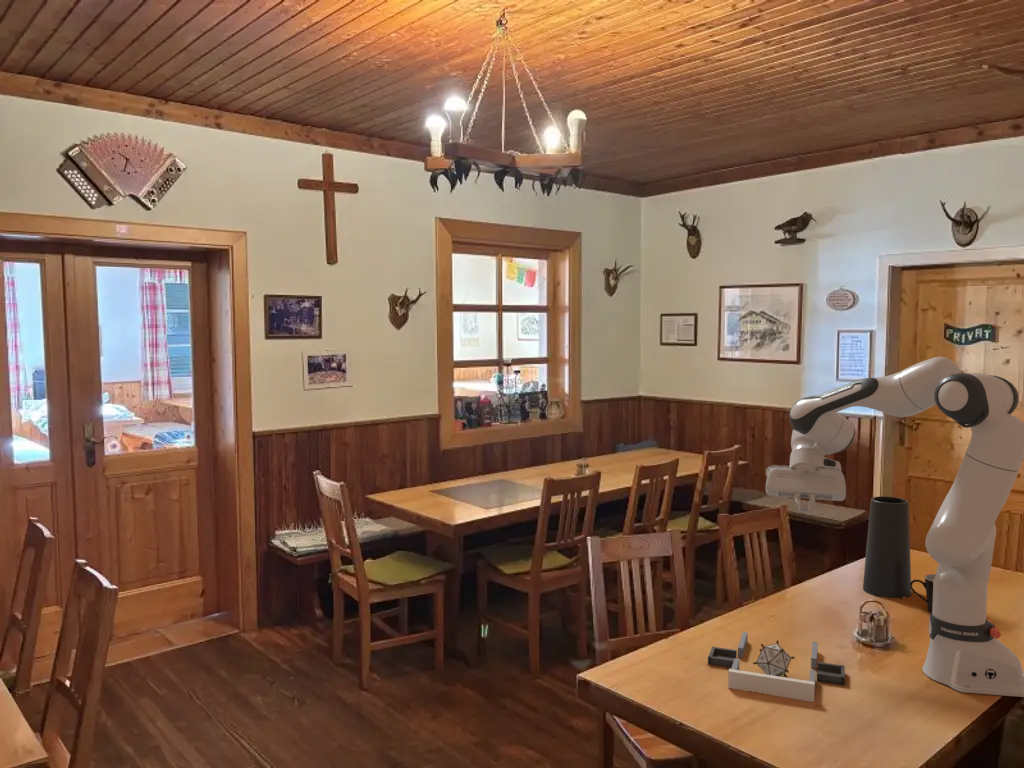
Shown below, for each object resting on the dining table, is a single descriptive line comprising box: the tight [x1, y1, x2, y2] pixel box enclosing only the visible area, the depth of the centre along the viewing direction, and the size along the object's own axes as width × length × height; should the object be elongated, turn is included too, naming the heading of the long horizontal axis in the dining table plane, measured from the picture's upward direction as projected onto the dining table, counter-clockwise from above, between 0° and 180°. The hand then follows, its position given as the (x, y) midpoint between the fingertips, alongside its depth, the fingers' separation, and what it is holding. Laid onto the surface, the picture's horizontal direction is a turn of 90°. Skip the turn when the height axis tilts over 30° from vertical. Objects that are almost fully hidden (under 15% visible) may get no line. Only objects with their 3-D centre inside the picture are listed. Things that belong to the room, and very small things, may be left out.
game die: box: [752, 639, 796, 678], centre depth 189 cm, size 9×8×10 cm
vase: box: [862, 495, 912, 599], centre depth 248 cm, size 14×14×29 cm
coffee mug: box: [910, 573, 936, 614], centre depth 231 cm, size 12×9×10 cm
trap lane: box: [707, 631, 846, 703], centre depth 193 cm, size 31×29×4 cm
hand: (804, 510), depth 210 cm, fingers closed
